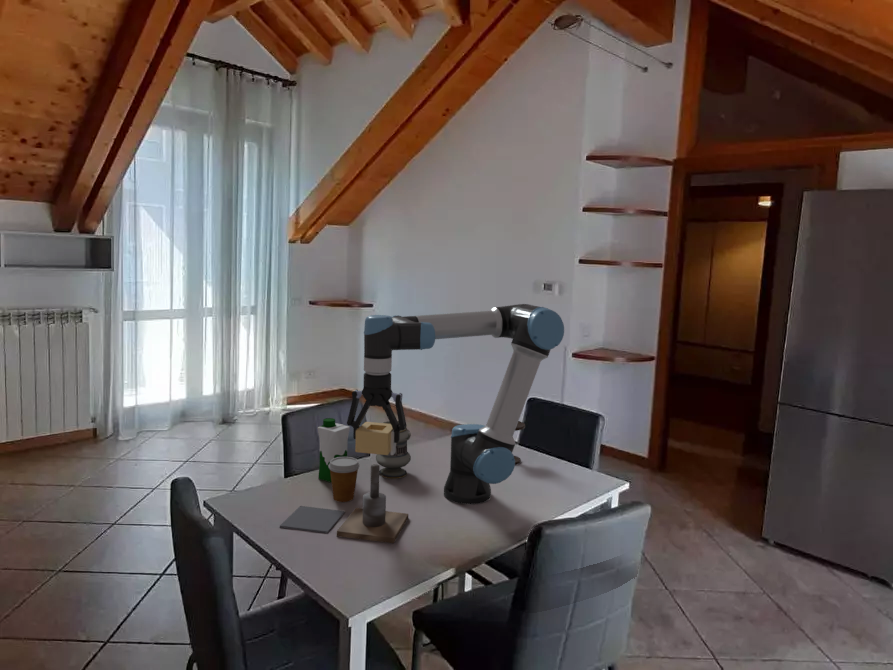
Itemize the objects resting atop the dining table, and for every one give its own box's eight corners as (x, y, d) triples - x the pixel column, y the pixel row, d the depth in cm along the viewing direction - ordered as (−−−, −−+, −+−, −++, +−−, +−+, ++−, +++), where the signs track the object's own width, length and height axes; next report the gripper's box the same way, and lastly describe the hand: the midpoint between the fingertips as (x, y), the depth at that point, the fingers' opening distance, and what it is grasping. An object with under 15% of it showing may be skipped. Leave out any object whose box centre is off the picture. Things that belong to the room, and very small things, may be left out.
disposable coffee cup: (352, 506, 193) (353, 468, 191) (323, 502, 195) (323, 464, 193) (363, 494, 202) (363, 458, 200) (334, 490, 204) (335, 454, 202)
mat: (344, 512, 188) (345, 511, 188) (327, 533, 174) (327, 531, 174) (300, 507, 190) (300, 505, 190) (279, 527, 177) (279, 525, 177)
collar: (396, 444, 179) (396, 424, 179) (387, 455, 171) (387, 433, 170) (365, 442, 181) (365, 421, 180) (355, 452, 172) (355, 430, 171)
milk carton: (332, 471, 220) (332, 415, 218) (352, 477, 216) (353, 420, 213) (314, 479, 213) (314, 421, 210) (334, 485, 208) (335, 426, 206)
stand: (408, 518, 185) (410, 459, 183) (393, 543, 170) (395, 478, 167) (355, 512, 188) (356, 453, 186) (336, 536, 173) (337, 472, 170)
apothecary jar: (368, 472, 221) (369, 422, 219) (395, 465, 229) (397, 416, 227) (389, 482, 213) (390, 430, 210) (417, 474, 221) (418, 424, 218)
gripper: (419, 372, 174) (417, 451, 178) (344, 366, 178) (343, 444, 182) (413, 377, 167) (411, 460, 170) (334, 372, 171) (334, 452, 174)
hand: (376, 451), depth 176 cm, fingers closed on collar, 9 cm apart
